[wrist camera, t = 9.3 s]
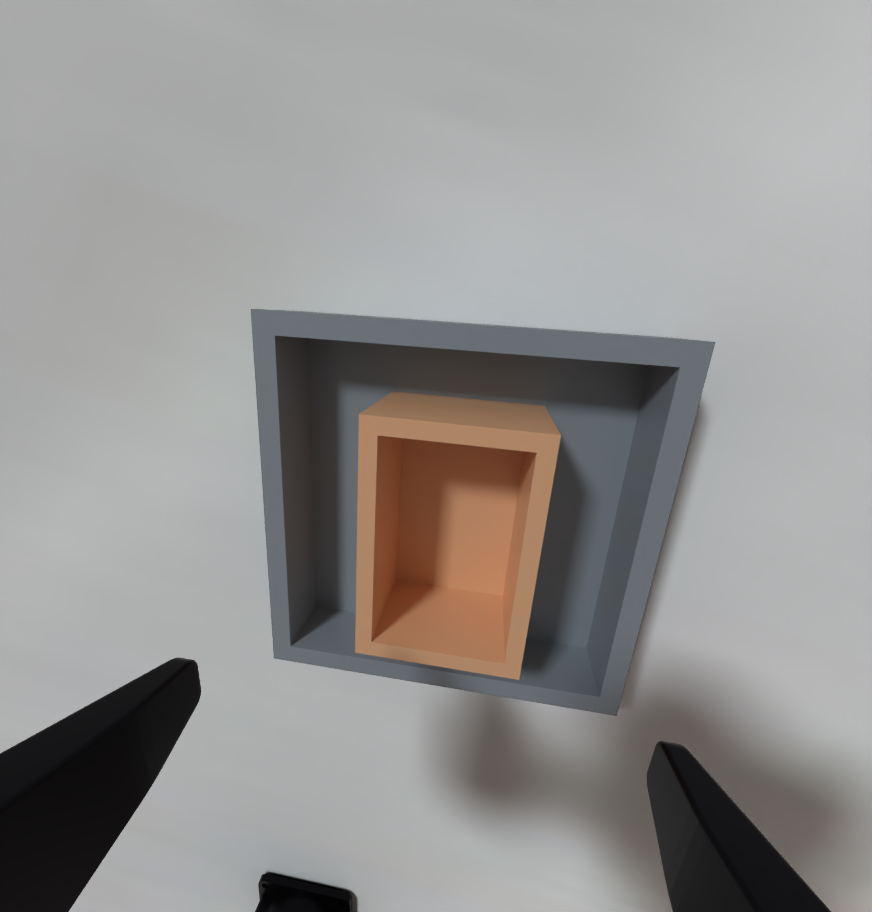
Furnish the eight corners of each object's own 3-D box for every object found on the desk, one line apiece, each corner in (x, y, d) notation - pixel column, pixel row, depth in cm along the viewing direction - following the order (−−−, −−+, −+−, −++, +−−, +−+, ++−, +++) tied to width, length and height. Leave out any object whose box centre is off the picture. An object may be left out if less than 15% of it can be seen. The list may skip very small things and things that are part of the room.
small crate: (385, 581, 20) (355, 652, 16) (393, 391, 17) (358, 414, 13) (514, 600, 19) (519, 680, 15) (544, 405, 16) (561, 435, 12)
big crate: (307, 607, 22) (274, 658, 19) (297, 311, 17) (250, 308, 14) (597, 651, 20) (616, 715, 17) (669, 337, 16) (715, 342, 12)
